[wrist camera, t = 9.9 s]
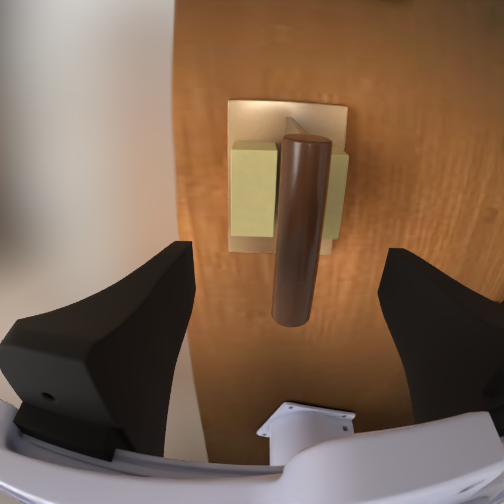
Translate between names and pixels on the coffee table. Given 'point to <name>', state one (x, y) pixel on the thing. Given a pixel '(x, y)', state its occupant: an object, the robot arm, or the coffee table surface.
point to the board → (278, 147)
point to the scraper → (299, 222)
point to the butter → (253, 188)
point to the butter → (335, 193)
